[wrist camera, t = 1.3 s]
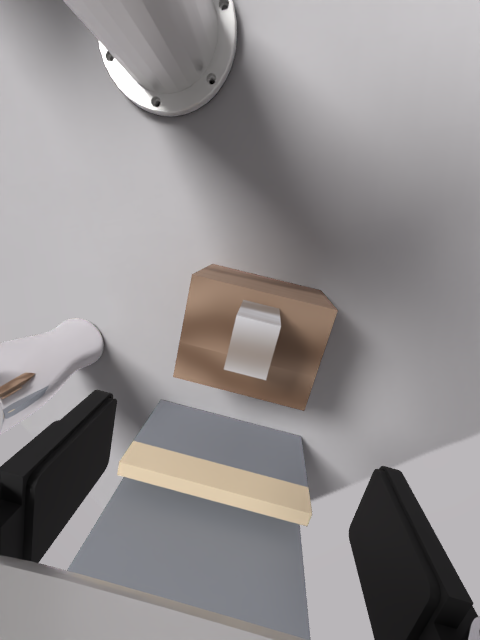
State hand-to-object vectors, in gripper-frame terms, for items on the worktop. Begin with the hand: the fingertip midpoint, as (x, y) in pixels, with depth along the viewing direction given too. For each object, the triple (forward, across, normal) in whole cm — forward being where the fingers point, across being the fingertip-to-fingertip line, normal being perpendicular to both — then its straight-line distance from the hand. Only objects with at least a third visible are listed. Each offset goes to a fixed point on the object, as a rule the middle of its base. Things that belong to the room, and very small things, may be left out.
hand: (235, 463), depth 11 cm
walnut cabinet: (+24, 0, +1) cm, 24 cm away
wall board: (+24, 0, +17) cm, 30 cm away
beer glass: (+24, +20, +10) cm, 33 cm away
